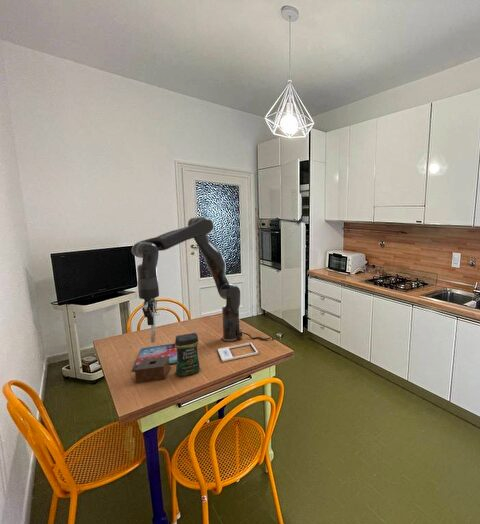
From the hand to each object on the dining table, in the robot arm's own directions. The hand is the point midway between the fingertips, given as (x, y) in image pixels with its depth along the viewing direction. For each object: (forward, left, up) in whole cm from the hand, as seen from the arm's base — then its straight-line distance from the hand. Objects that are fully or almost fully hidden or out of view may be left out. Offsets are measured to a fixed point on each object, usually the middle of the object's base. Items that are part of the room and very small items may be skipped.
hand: (151, 323), depth 133 cm
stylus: (0, 0, -9) cm, 9 cm away
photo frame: (-36, -11, -24) cm, 44 cm away
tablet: (+2, -18, -24) cm, 30 cm away
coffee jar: (-14, +4, -24) cm, 28 cm away
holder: (0, +2, -24) cm, 24 cm away
